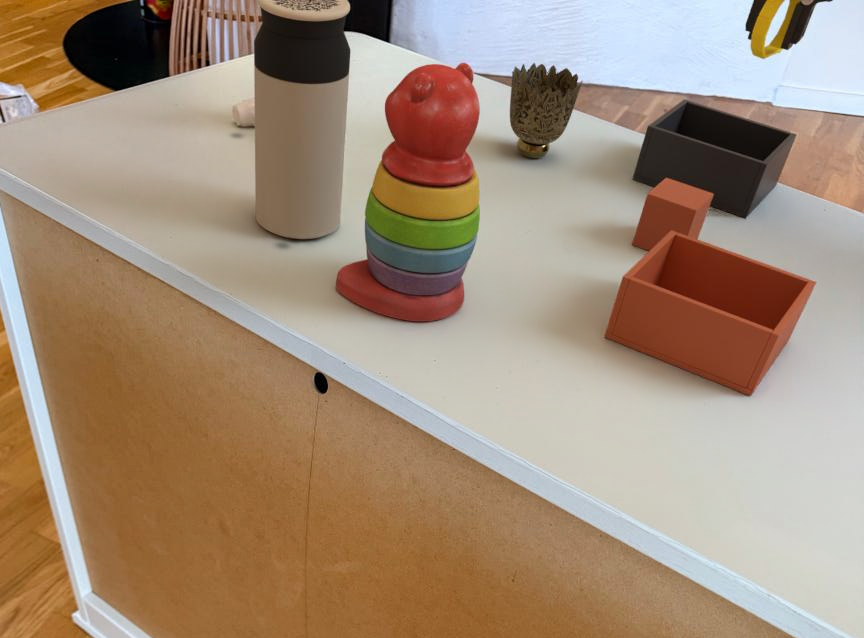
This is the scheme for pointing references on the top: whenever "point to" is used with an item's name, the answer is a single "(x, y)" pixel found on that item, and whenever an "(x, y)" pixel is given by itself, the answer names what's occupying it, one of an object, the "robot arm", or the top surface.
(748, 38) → the robot arm
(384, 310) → the stacking bear
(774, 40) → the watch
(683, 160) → the charcoal bin
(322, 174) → the travel mug
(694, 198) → the terracotta block
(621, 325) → the terracotta bin
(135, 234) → the top surface
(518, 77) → the cup
